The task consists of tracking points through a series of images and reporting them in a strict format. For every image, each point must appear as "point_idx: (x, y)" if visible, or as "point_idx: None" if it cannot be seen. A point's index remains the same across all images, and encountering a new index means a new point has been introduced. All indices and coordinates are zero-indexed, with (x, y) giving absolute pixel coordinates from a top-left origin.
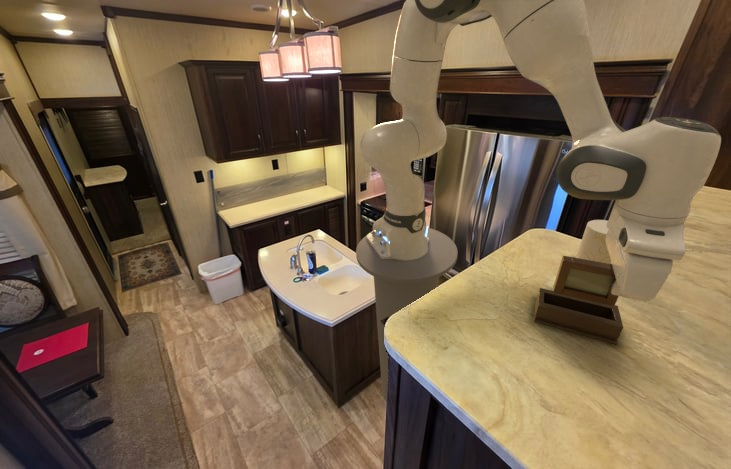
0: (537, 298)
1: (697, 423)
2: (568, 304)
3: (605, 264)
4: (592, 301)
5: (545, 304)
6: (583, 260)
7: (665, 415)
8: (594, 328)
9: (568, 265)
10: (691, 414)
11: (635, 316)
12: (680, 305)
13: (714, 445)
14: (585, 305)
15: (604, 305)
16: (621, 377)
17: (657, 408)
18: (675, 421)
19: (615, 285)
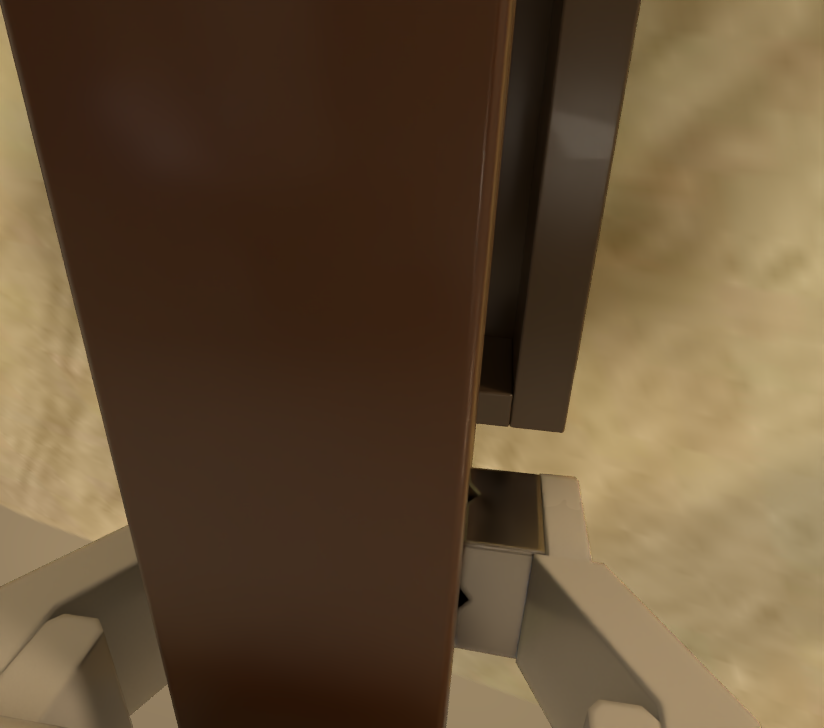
0: None
1: (70, 488)
2: (549, 78)
3: (360, 641)
4: (565, 272)
5: None
6: (364, 3)
7: (34, 412)
8: None
9: None
10: (97, 486)
11: (635, 487)
12: (790, 685)
13: (17, 498)
14: (534, 214)
15: (536, 349)
16: None
17: (48, 398)
18: (31, 433)
19: (117, 537)
